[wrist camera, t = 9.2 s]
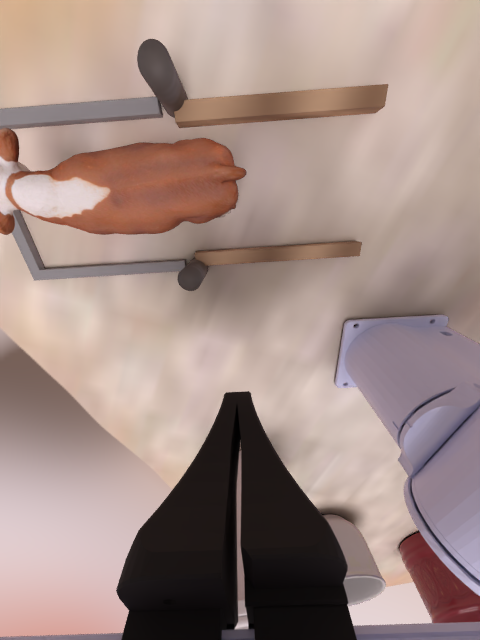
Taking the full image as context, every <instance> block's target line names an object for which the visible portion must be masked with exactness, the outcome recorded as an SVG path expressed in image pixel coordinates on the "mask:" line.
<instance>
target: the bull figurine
mask: <svg viewBox="0 0 480 640" xmlns="http://www.w3.org/2000/svg"><path fill="white" fill-rule="evenodd" d="M18 157H19V142H18V137H17V135H16V134H15V132H14V131H12V130H11V129H9V128H2V129H0V233H2V234H4V235H8V234H10V233H11V232H13V230H14V227H15V219H14V216H13V211H14V210H21V211H24V212H26V213H28V214H30V215H32V216H34V217H37V218H39V219H41V220H44V221H47V222H51V223H56V224H61V225H68V226H71V227H74V228H77V229H80V230H83V231H86V232H89V233H94V234H102V235H105V234H114V233H118V234H157V233H163V232H166V231H169V230H171V229H173V228H175V227H176V226H178V225H179V224H180V223H181V222H183V221H189V222H192V223H197V224H201V223H205V222H208V221H210V220H212V219H214V218H217V217H224V216H225V215H226V214H228V213H230V212H231V209H234V208H235V207H236V205H235V204H236V203H237V200H238V189H237V185H236V180H239V179H241V178H243V177H244V176H245V175H246V170H245V169H243V168H239V167H236V166H234V160H233V156H232V154H231V152H230V150H229V149H228V148H227V147H225V146H223V145H221V144H219V143H216V142H214V141H212V140H210V139H206V138H198V139H193V140H180V141H178V142H176V143H174V144H169V143H156V144H153V143H144V142H143V143H135V144H132V145H127V146H123V147H118V148H113V149H108V150H102V151H96V152H89V153H81V154H77V155H74V156H72V157H71V158H69V159H67V160H66V161H63V162H61V163H60V164H59V165H58V166H56V167H55V168H53V169H51V170H48V171H35V172H32V171H30V170H29V169H28V168H27V167H26V166H24V165H23V164H21V163H19V162H18Z"/></svg>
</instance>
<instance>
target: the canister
mask: <svg viewBox="0 0 480 640" xmlns="http://www.w3.org/2000/svg"><path fill="white" fill-rule="evenodd" d="M399 551H400V553H401V556H402V560H403V563H404V564H405V567H406V569H407V570H408V572H409V573H410V575H411V577H412V579H413V581H414V583H415V585H416V588H417V590H418V592H419V594H420V596H421V598H422V600H423V602H424V604H425V606H426V608H427V610H428V613H429V615H430V617H431V619H432V623H459V622H480V596H479V595H477V594H476V593H475V592H474V591H473V590H471V589H470V588H469V587H468V586H467V585H465V584H464V583H463V582H462V581H461V580H460V579H459V578H458V577H457V576H456V575H455V574H454V573H453V572H451V570H450V569H449V568H448V567H447V566H446V565H445V564H444V563H443V562H442V561H441V560H440V559H439V557H438V556H437V555H436V554H435V552H434V551H433V550H432V549H431V547H430V546H429V545H428V543H427V542H426V540H425V539H424V538H423V536H422V535H421V533H420V532H418V533H416V534H414V535H412V536H410V537H408V538H407V539H405V540H404V541H403V542H402V543H401V545H400V548H399Z"/></svg>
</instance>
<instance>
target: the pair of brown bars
mask: <svg viewBox="0 0 480 640" xmlns="http://www.w3.org/2000/svg"><path fill="white" fill-rule="evenodd" d="M137 61H138V67H139V70H140V72H141V74H142V76H143V78H144V79H145V80H146V82H147V83H148V85H149V86H150V88H151V89H152V91H153V92H154V94H155V95H156V97H157V98H158V99H159V101H160V102H161V104H162V105H163V107H164V108H165V110H166V111H167V113H168V114H169V115H170V116H172V117H174V118H175V122H176V123H177V125H178V126H179V128H183V127H196V126H210V125H223V124H236V123H249V122H263V121H276V120H289V119H303V118H316V117H329V116H342V115H356V114H369V113H376V112H378V111H379V110H380V109H382V108H383V107H384V106H385V101H386V95H387V89H388V84H383V85H371V86H358V87H345V88H332V89H319V90H306V91H293V92H280V93H268V94H255V95H242V96H229V97H216V98H203V99H190V100H188V98H187V95H186V93H185V90H184V88H183V86H182V83H181V81H180V79H179V76H178V74H177V72H176V69H175V67H174V65H173V62H172V60H171V58H170V55H169V53H168V51H167V49H166V48H165V46H164V45H163V44H162V43H161V42H159V41H158V40H155V39H148V40H146V41H144V42H143V43H142V44H141V46H140V48H139V50H138V56H137ZM361 245H362V243H361V242H357V241H352V242H336V243H321V244H305V245H290V246H274V247H259V248H243V249H228V250H212V251H197V252H196V253H195V258H194V259H193V260H192V261H191V262H190V263H188V264H187V265H186V266H185V267H184V268H183V269H182V270H181V271H180V272H179V274H178V282H179V285H180V286H181V287H182V288H183V289H185V290H188V291H193V290H196V289H197V288H198V287H199V286H200V284H201V283H202V281H203V279H204V277H205V275H206V274H207V272H208V265H223V264H239V263H255V262H271V261H287V260H303V259H318V258H334V257H350V256H360V251H361Z"/></svg>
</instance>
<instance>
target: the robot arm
mask: <svg viewBox="0 0 480 640" xmlns="http://www.w3.org/2000/svg"><path fill="white" fill-rule="evenodd" d="M430 320H432V321H430ZM448 320H449V318H448V317H447V316H445V315H426V316H409V317H392V318H374V319H357V320H348V321H346V322H345V324H344V328H343V334H342V341H341V347H340V353H339V360H338V366H337V372H336V379H335V385H336V386H337V387H338V388H347V387H358V389H359V390H360V391H361V393H362V394H363V396H364V397H365V399H366V400H367V401H368V403H369V404H370V406H371V407H372V409H373V410H374V412H375V413H376V414H377V416H378V417H379V419H380V420H381V422H382V423H383V424H384V426H385V427H386V429H387V430H388V432H389V433H390V434H391V436H392V437H393V439H394V440H395V442H396V443H397V444H398V446H399V447H400V449H401V455H400V457H399V458H398V461H399V462H400V464H401V465H402V467H403V468H404V470H405V472H406V473H407V475H408V476H409V477H408V478H407V479H406V481H405V484H404V497H405V502H406V505H407V508H408V511H409V513H410V515H411V517H412V519H413V521H414V523H415V525H416V526H417V528H418V530H419V531H420V533H421V535H422V536H423V538H424V539H425V540H426V542H427V543H428V545H429V546H430V547H431V549H432V550H433V551H434V552H435V554H436V555H437V556H438V557H439V559H440V560H441V561H442V562H443V563H444V564H445V565H446V566H447V567H448V568H449V569H450V570H451V572H453V573H454V574H455V575H456V576H457V577H458V578H459V579H460V580H461V581H462V582H463V583H464V584H465V585H467V586H468V587H469V588H470V589H471V590H473V591H474V592H475V593H476V594H477V595H479V596H480V344H479V343H477V342H475V341H473V340H471V339H469V338H467V337H465V336H464V335H462V334H460V333H458V332H456V331H454V330H452V329H450V328H448V327H447V323H448ZM355 324H357V325H356V326H354V325H355ZM345 382H346V383H345ZM344 383H345V384H344ZM240 441H241V539H240V545H241V553H242V561H243V568H244V587H245V608H246V612H247V619H248V629H237V630H234V629H235V627H236V625H237V623H238V577H237V477H238V463H239V448H240ZM347 571H348V565H347V562H346V559H345V556H344V554H343V551H342V549H341V547H340V544H339V542H338V540H337V538H336V536H335V534H334V532H333V530H332V528H331V526H330V524H329V523H328V521H327V520H326V519H325V518H324V516H323V515H322V514H321V513H320V512H319V511H318V509H317V508H316V507H315V506H314V505H313V503H312V502H311V501H310V500H309V498H308V497H307V496H306V495H305V493H304V492H303V491H302V489H301V488H300V487H299V485H298V484H297V483H296V481H295V480H294V478H293V477H292V476H291V474H290V473H289V471H288V470H287V469H286V467H285V466H284V464H283V463H282V461H281V459H280V458H279V456H278V455H277V453H276V451H275V450H274V448H273V446H272V444H271V443H270V441H269V439H268V437H267V435H266V433H265V431H264V429H263V427H262V425H261V423H260V420H259V418H258V416H257V413H256V411H255V408H254V405H253V402H252V398H251V393H250V392H249V391H248V392H229V393H225V394H224V398H223V402H222V405H221V407H220V410H219V413H218V415H217V417H216V419H215V422H214V424H213V426H212V428H211V430H210V432H209V434H208V436H207V438H206V440H205V442H204V444H203V445H202V447H201V449H200V451H199V452H198V454H197V456H196V457H195V459H194V460H193V462H192V463H191V465H190V466H189V468H188V469H187V471H186V472H185V474H184V475H183V477H182V478H181V480H180V481H179V482H178V484H177V485H176V486H175V487H174V489H173V490H172V491H171V493H170V494H169V495H168V497H167V498H166V499H165V500H164V502H163V503H162V504H161V505H160V507H159V508H158V509H157V510H156V511H155V512H154V513H153V515H152V516H151V517H150V518H149V519H148V520H147V522H146V523H145V524H144V525H143V526H142V527H141V528H140V530H139V531H138V533H137V535H136V538H135V540H134V542H133V544H132V546H131V549H130V551H129V553H128V556H127V558H126V561H125V564H124V567H123V571H122V574H121V577H120V580H119V583H118V586H117V590H116V591H117V594H118V596H119V599H120V600H121V601H122V602H123V603H124V605H125V606H126V607H127V608H128V610H129V614H128V617H127V621H126V625H125V628H124V632H123V633H111V634H79V635H51V636H50V635H48V636H16V637H0V640H480V622H459V623H429V624H396V625H364V626H353V624H352V620H351V617H350V613H349V610H348V606H347V604H348V598H347V595H346V591H345V588H344V584H343V582H344V579H345V576H346V574H347Z"/></svg>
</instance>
